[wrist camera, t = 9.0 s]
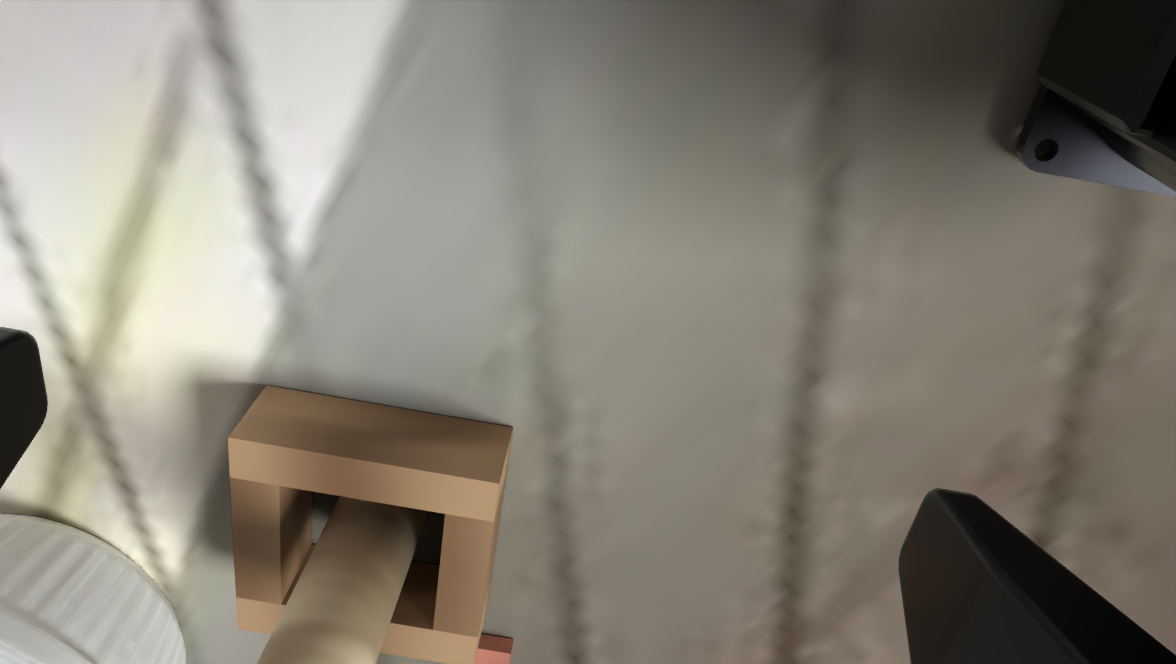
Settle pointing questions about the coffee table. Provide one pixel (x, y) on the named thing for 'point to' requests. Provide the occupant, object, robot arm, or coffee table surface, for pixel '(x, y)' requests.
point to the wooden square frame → (379, 474)
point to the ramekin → (78, 600)
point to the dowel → (348, 586)
